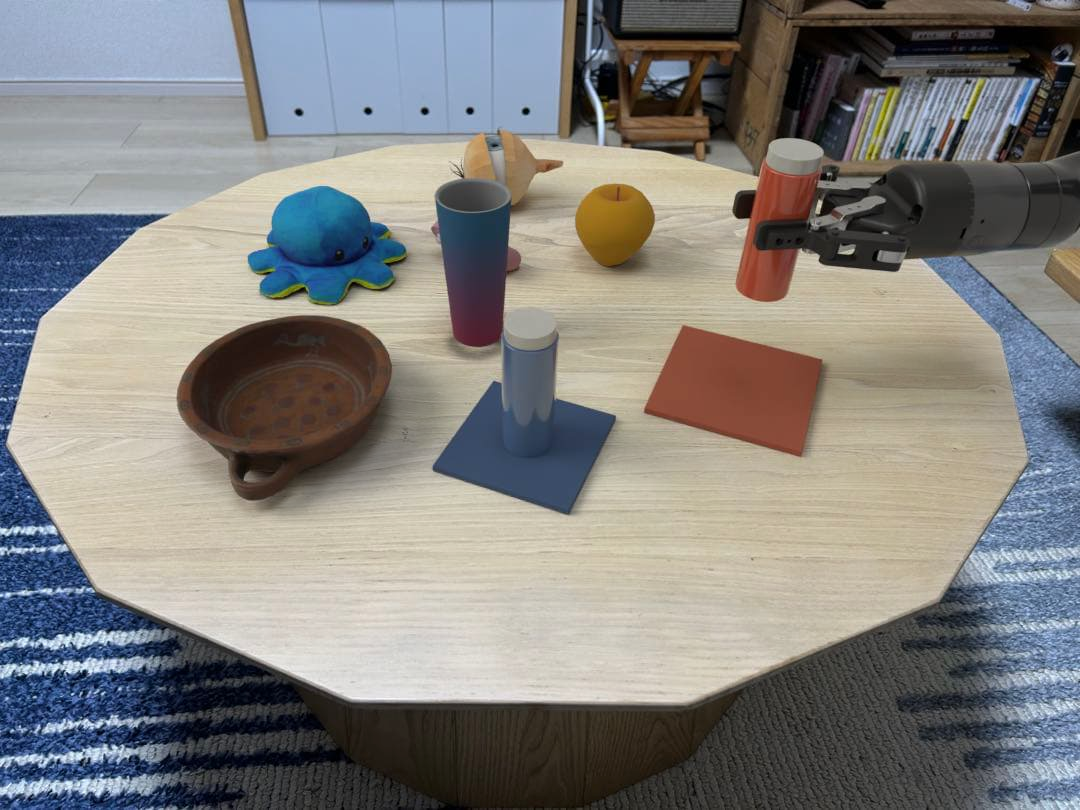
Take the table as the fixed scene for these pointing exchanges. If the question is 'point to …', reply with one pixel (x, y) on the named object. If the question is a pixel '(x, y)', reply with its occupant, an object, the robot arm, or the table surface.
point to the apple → (614, 222)
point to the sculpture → (503, 162)
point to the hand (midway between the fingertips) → (746, 220)
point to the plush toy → (324, 247)
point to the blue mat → (530, 479)
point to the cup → (475, 255)
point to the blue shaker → (529, 381)
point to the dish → (284, 395)
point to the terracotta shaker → (778, 215)
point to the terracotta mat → (737, 389)
